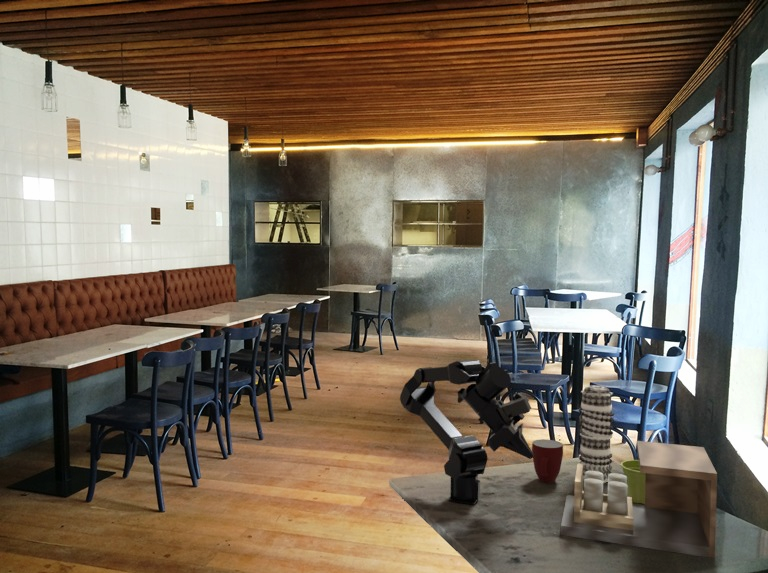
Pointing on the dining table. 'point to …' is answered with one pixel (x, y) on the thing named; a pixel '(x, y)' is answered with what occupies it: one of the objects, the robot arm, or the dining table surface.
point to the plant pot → (634, 481)
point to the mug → (547, 459)
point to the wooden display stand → (664, 504)
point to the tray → (598, 515)
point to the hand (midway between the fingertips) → (532, 457)
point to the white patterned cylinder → (596, 430)
